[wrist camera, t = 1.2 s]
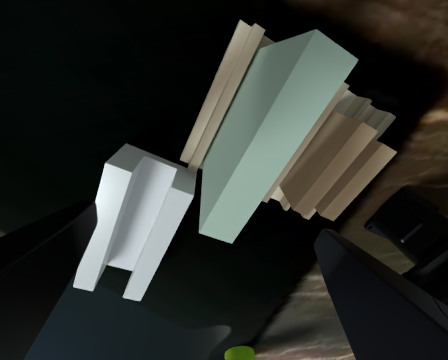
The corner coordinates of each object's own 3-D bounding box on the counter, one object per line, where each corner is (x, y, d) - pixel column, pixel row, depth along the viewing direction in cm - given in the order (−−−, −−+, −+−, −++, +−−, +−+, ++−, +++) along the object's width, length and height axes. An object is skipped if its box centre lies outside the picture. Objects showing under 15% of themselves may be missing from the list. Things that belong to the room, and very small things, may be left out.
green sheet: (278, 63, 16) (358, 59, 8) (222, 167, 20) (231, 243, 12) (257, 49, 16) (316, 29, 7) (203, 159, 20) (198, 233, 11)
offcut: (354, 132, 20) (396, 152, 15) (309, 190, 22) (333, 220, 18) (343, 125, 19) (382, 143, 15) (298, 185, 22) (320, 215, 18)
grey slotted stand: (196, 172, 22) (193, 195, 18) (149, 268, 28) (140, 301, 24) (126, 143, 20) (105, 162, 16) (93, 253, 26) (72, 287, 22)
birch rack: (380, 114, 20) (401, 120, 18) (304, 207, 25) (313, 221, 23) (238, 22, 16) (243, 15, 14) (181, 155, 21) (177, 166, 18)
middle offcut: (338, 116, 19) (378, 131, 14) (287, 185, 22) (307, 215, 18) (326, 108, 18) (362, 121, 14) (276, 180, 22) (293, 210, 17)
